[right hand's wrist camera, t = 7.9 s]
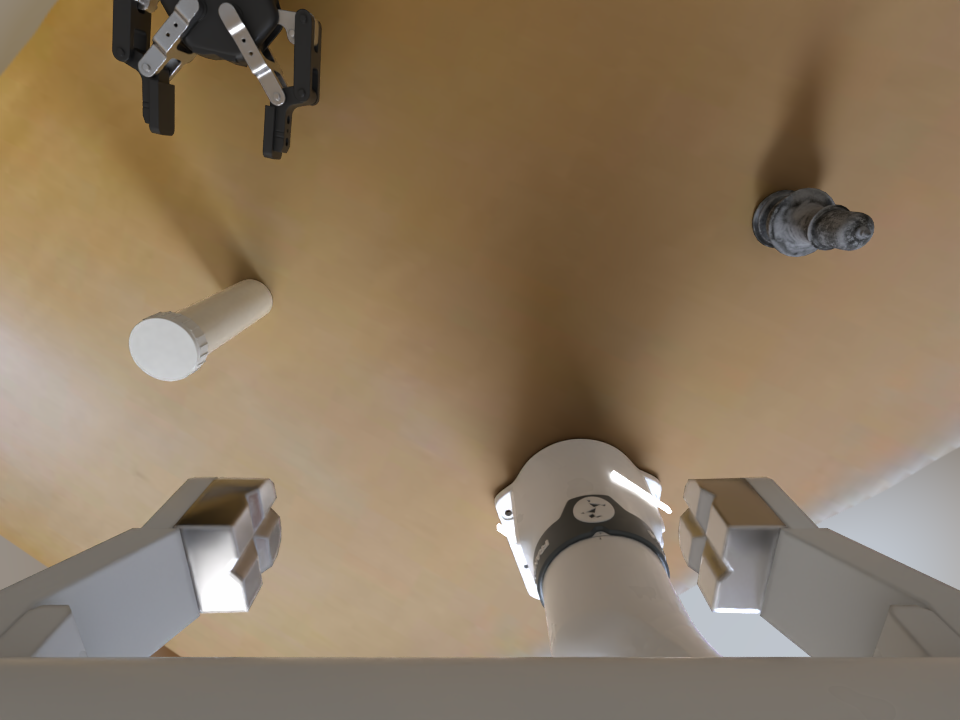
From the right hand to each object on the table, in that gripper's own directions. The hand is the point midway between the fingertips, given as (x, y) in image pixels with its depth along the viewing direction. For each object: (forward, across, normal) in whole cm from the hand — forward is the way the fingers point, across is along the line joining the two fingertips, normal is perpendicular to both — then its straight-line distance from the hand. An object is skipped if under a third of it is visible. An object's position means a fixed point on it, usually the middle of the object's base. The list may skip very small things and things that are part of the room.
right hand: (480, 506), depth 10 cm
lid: (+27, -23, -6) cm, 36 cm away
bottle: (+42, -23, -6) cm, 48 cm away
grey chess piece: (+42, +28, +2) cm, 51 cm away
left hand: (+36, -21, +8) cm, 42 cm away
